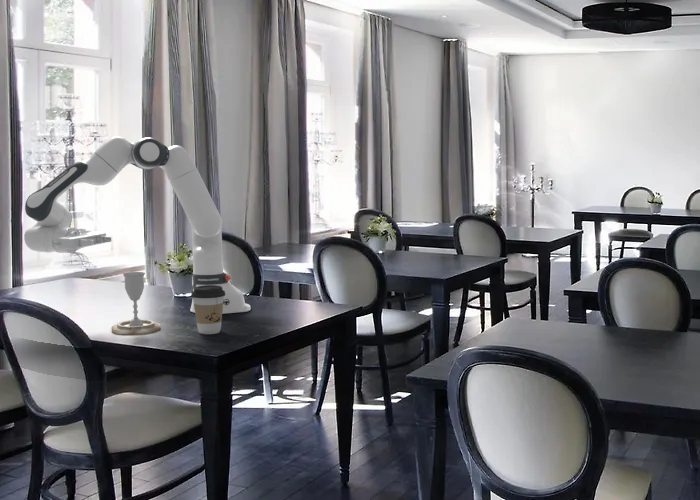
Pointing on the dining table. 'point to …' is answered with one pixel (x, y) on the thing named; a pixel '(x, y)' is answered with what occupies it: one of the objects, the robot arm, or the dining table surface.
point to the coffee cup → (208, 308)
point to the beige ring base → (135, 328)
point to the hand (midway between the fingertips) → (102, 241)
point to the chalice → (134, 292)
